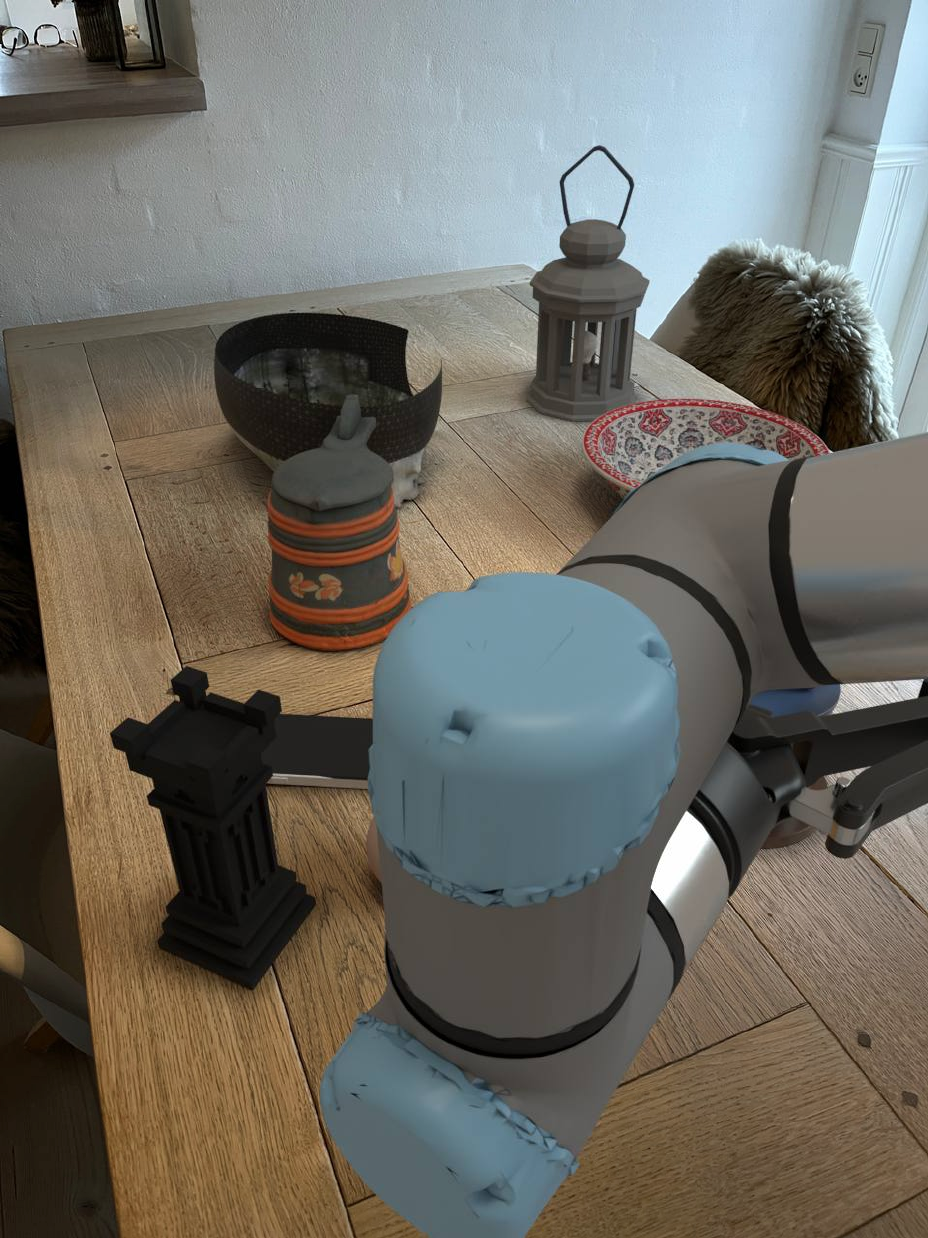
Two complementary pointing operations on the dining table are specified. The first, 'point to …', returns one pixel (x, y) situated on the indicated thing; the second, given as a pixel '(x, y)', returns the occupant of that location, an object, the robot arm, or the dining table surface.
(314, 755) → the smartphone
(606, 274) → the lantern
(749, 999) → the dining table surface
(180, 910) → the chess piece
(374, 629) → the tankard
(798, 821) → the pedestal
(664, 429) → the ceramic bowl
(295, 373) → the basket
